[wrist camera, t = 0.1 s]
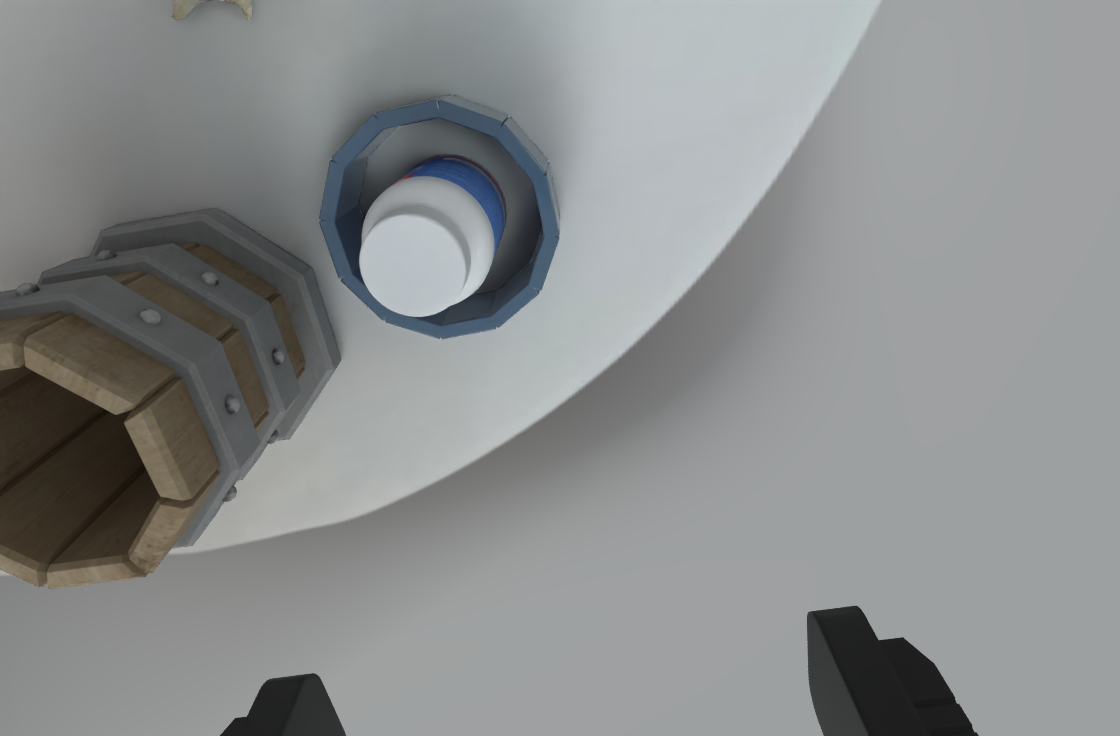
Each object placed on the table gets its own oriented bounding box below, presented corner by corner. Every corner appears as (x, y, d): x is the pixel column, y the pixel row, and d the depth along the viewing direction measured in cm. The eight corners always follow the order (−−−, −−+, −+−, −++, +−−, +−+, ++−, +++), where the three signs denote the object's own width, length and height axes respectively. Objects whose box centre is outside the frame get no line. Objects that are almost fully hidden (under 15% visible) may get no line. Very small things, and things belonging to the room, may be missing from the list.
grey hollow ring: (372, 65, 31) (347, 66, 27) (585, 141, 32) (588, 152, 29) (330, 273, 35) (303, 297, 31) (520, 332, 36) (516, 363, 33)
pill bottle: (422, 133, 32) (369, 162, 23) (524, 184, 33) (511, 230, 24) (382, 235, 34) (320, 297, 25) (480, 280, 35) (453, 355, 26)
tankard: (289, 194, 33) (102, 288, 20) (362, 416, 39) (253, 611, 25) (-83, 258, 35) (-497, 386, 21) (36, 463, 40) (-236, 673, 26)
